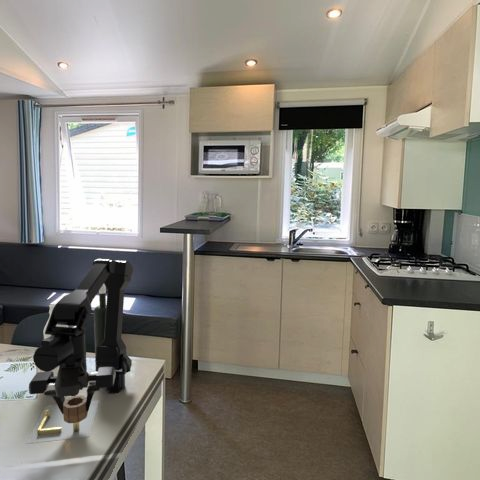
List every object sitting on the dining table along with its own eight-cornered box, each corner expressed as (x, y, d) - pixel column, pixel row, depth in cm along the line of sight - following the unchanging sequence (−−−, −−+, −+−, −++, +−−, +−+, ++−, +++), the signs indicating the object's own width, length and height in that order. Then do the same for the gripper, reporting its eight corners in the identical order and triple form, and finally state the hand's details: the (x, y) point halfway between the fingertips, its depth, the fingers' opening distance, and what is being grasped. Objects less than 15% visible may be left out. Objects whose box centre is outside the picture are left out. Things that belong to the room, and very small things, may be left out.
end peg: (74, 429, 93) (73, 416, 93) (80, 428, 93) (79, 415, 93) (72, 432, 92) (72, 419, 91) (78, 431, 92) (78, 418, 92)
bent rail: (45, 416, 98) (45, 409, 98) (68, 414, 99) (68, 407, 99) (36, 435, 90) (35, 428, 90) (60, 432, 92) (60, 425, 91)
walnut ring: (67, 411, 94) (66, 396, 94) (89, 409, 95) (88, 394, 95) (61, 424, 89) (61, 408, 89) (85, 421, 90) (84, 406, 90)
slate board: (46, 408, 103) (46, 405, 103) (99, 403, 106) (99, 400, 106) (26, 446, 88) (25, 443, 88) (89, 439, 90) (89, 436, 90)
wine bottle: (95, 367, 127) (92, 281, 124) (112, 364, 130) (110, 280, 126) (96, 374, 122) (93, 285, 118) (114, 371, 125) (112, 284, 121)
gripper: (18, 370, 80) (22, 437, 82) (109, 363, 84) (111, 427, 86) (35, 349, 91) (38, 409, 93) (115, 344, 95) (116, 401, 97)
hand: (75, 412), depth 92 cm, fingers closed on walnut ring, 5 cm apart
